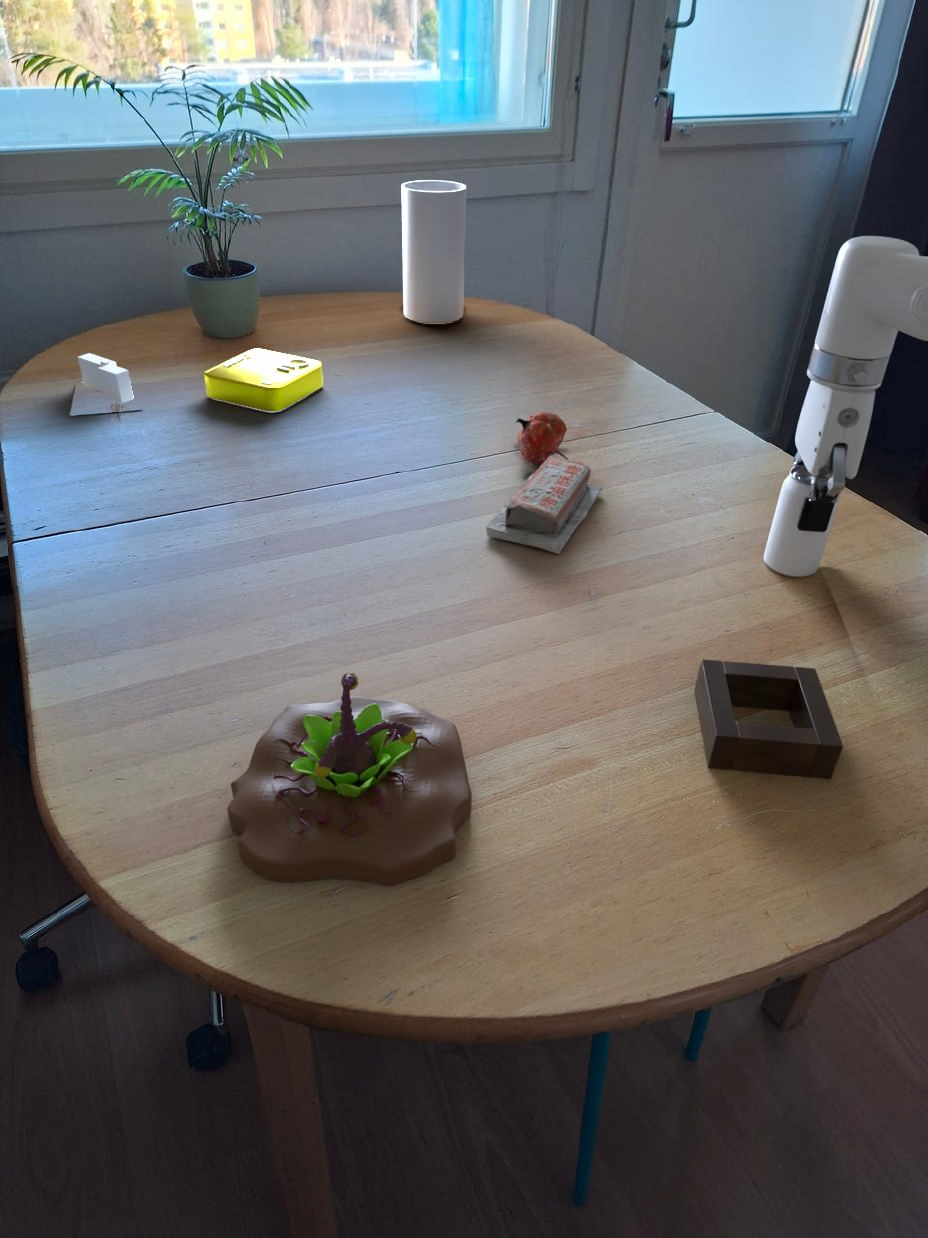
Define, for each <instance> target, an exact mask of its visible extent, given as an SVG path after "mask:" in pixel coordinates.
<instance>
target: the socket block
mask: <svg viewBox="0 0 928 1238" xmlns="http://www.w3.org/2000/svg"><path fill="white" fill-rule="evenodd" d="M694 695H695V697H694V698H695V702H696V708H697V714H698V719H699V725H700V730H701V738H702V743H703V749H704V754H705V760H706V766H707V768H708V769H713V770H714V769H715V770H724V771H725V770H726V771H735V772H736V771H737V772H747V773H757V774H759V773H760V774H767V775H768V774H770V775H778V776H779V775H781V776H790V777H791V776H792V777H803V778H817V779H826V780H828V779H829V780H831V779H832V777H833V774H834V772H835V769H836V767H837V764H838V762H839V759H840V756H841V754H842V751H843V749H844V745H843V742H842V739H841V737H840V733H839V731H838V728H837V726H836V721H835V720H834V717H833V715H832V711H831V709H830V706H829V702H828V701H827V698H826V697H827V696H826V695H825V692H824V689H823V686H822V683H821V681H820V677H819V675H818V672H817V670H816V668H813V667H804V666H803V667H802V666H801V667H800V666H790V665H778V664H777V665H776V664H767V663H754V662H753V663H752V662H740V661H727V660H717V659H704V658H702V659H701V660H700V664H699V668H698V672H697V677H696V681H695V686H694ZM733 707H737V708H747V709H748V708H750V709H761V710H771V711H781V712H782V711H783V712H784V711H785V712H788V714H789V718H790V720H791V724H792V726H784V725H773V724H771V725H770V724H760V723H759V724H758V723H747V722H737V721H736V717H735V712H734V708H733Z"/></svg>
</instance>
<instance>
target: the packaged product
mask: <svg viewBox="0 0 928 1238" xmlns="http://www.w3.org/2000/svg"><path fill="white" fill-rule="evenodd" d="M568 459H569V458H568ZM568 459H565V458H564V457H556V456H549V457H548V459H547V460H546V461H545V462H544V463H542V464H540V465H539V468H537V469H536V471H533V472H532V473H531V475H530V476H529V477H528V478H527V479H526V481H525V482H524V483H523V484H522V485H521V487H519V489H518V490H517V491H516V492H515V493H514V494H513V495H512V497H511V498H510V499H509V500H508V501H507V502H506V504H504V506H503V507H502V508H501V509H500V510H499V511H498V513H497V514H496V515H495V516H494V517H493V518H492V519H491V521H490V522H489V523H488V524H487V525H486V526H485V530H486V536H487V537H489V538H493V539H496V540H497V539H498V540H503V541H508V542H511V543H517V544H520V545H525V546H530V547H535V548H539V549H543V550H546V551H549V552H551V553H554V554H558V555H559V554H560V553H561V551H562V550H563V549H564V547H565V546H566V544H567V542H568V541H569V540H570V538H571V537H572V534H573V533H574V531H576V529H577V528H578V526H579V525H580V523H581V522H583V521H584V520H585V519H586V518H587V516H588V513H589V510H590V508H591V507H592V506H593V504H594V503H595V501H596V500H597V498H598V496H599V495H600V493H601V492H602V491H603V487H602V486H597V485H593V484H589V480H590V477H591V471H592V469H591V467H589V466H588V465H587V464H585V463H584V462H582V461H576V460H572V459H571V460H570V459H569V460H568Z"/></svg>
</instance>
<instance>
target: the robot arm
mask: <svg viewBox="0 0 928 1238" xmlns="http://www.w3.org/2000/svg"><path fill="white" fill-rule="evenodd" d="M898 332H901V333H903V334H905V335H908V336H911V337H913V338H916V339H918V340H921V341H925V342H928V256H923V255H920V252H919V249H918V248H917V247H916V246H915V245H914V244H912V243H910V242H909V241H906V240H903V239H900V238H895V237H890V236H881V235H880V236H879V235H861V236H857V237H852V238H850V239H848V240H846V241H845V242H844V243H843V244H842V246H841V247H840V248H839V250H838V252H837V256H836V260H835V263H834V267H833V270H832V275H831V279H830V282H829V286H828V291H827V294H826V298H825V301H824V306H823V310H822V313H821V317H820V321H819V325H818V328H817V332H816V336H815V339H814V344H813V348H812V351H811V354H810V358H809V362H808V366H807V370H806V376H807V377H808V379H810V383H809V385H808V388H807V390H806V391H807V392H806V395H805V397H804V401H803V404H802V407H801V411H800V415H799V418H798V422H797V426H796V430H795V437H794V443H795V447H796V449H797V452H796V454H795V455H794V458H793V461H792V468H793V467H795V466H799V465H805V466H806V468H807V470H808V471H809V472H810V473H811V474H812V477H811V484H810V492H809V497H805V499H804V503H803V506H802V510H801V513H800V517H799V520H798V524H797V527H798V530H800V531H813V532H825V531H826V530H827V527H828V524H829V521H830V517H831V514H832V511H833V508H834V504H835V503H836V501H837V497H838V495H839V494H840V492H841V493H842V491H843V490H844V489H845V486H846V479H849V480H852V479H854V478H856V475H857V474H858V470H859V468H860V463H861V460H862V456H863V453H864V448H865V444H866V442H867V437H868V433H869V429H870V424H871V420H872V417H873V412H874V411H873V409H874V405H875V398H876V397H875V396H876V389H878V388H880V387H881V385H882V383H883V379H884V376H885V374H886V370H887V367H888V363H889V360H890V358H891V354H892V351H893V348H894V345H895V341H896V338H897V336H898ZM820 467H822V468H827V469H830V473H820V471H819V470H820ZM819 478H823V479H829V481H828V482H827V485H822V486H821V487H820V488H819V489H818V485H819Z"/></svg>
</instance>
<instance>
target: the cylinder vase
mask: <svg viewBox="0 0 928 1238" xmlns="http://www.w3.org/2000/svg"><path fill="white" fill-rule="evenodd" d="M466 208H467V185H466V184H464V183H460V182H456V181H451V180H436V179H435V180H433V179H429V180H428V179H427V180H425V179H423V180H413V181H407V182H404V183H401V223H402V224H401V234H402V235H401V237H402V239H401V240H402V242H401V243H402V294H403V297H402V301H403V303H402V304H403V316H404V317H405V319H407V318H408V319H410V320H413V321H416V322H422V323H448V322H453V321H456V320H458V321H460V320H461V319H462V318H463V316H464V301H465V300H464V299H465V298H464V296H465V260H466V259H465V255H466V254H465V253H466V216H467V215H466V211H467V210H466ZM460 318H461V319H460ZM408 319H407V320H408ZM459 319H460V320H459ZM410 320H409V321H410ZM456 322H457V321H456ZM453 323H454V322H453Z"/></svg>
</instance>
